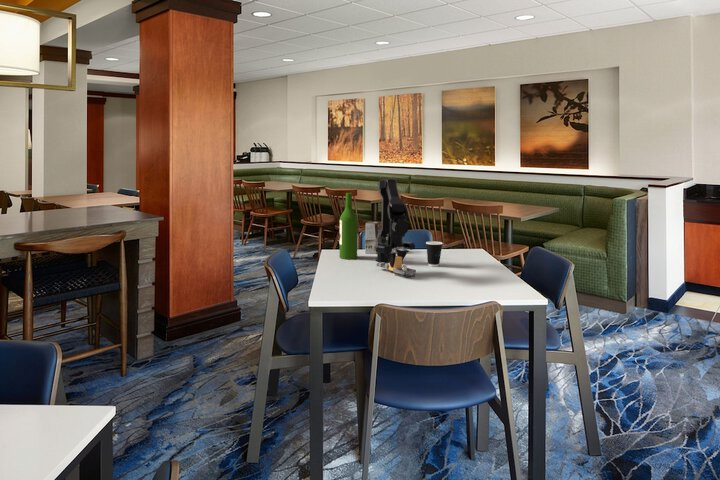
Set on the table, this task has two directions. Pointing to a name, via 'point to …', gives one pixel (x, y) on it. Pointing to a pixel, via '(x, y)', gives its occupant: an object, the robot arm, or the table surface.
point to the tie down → (396, 266)
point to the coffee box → (371, 236)
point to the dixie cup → (434, 253)
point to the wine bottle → (348, 231)
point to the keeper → (404, 268)
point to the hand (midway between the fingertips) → (395, 266)
